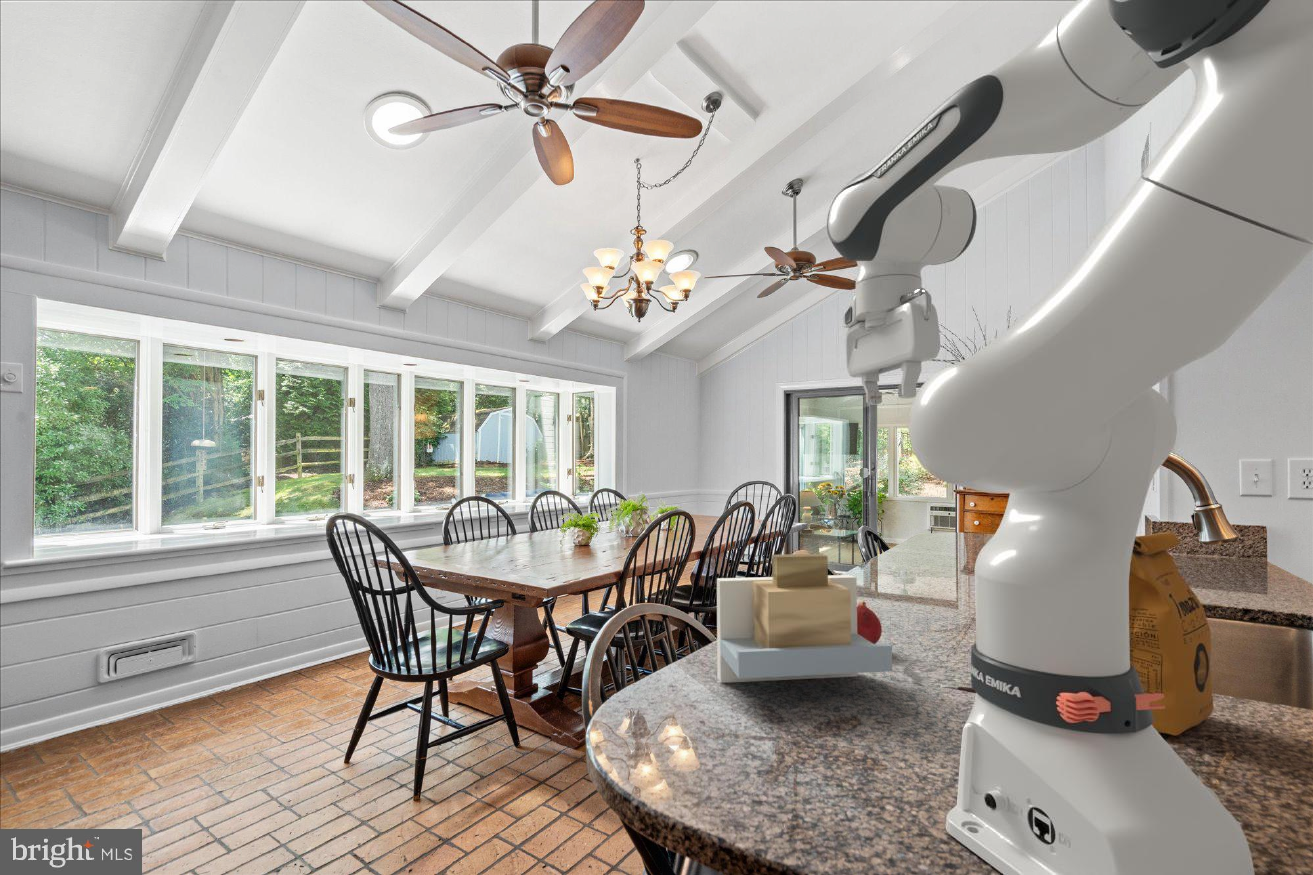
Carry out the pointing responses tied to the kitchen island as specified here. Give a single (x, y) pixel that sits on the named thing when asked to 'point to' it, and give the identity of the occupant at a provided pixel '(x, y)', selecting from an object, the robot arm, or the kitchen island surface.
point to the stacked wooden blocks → (800, 605)
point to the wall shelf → (753, 663)
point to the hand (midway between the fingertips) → (889, 401)
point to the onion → (868, 623)
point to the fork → (925, 682)
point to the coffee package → (1168, 636)
